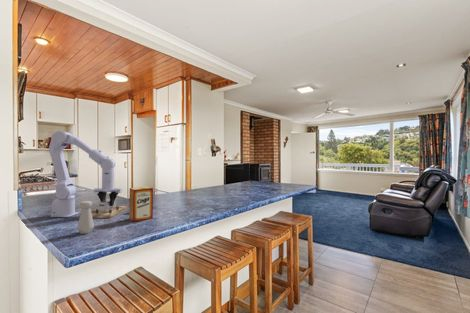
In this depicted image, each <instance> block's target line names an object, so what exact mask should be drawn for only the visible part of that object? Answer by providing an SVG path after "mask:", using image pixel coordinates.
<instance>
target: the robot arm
mask: <svg viewBox="0 0 470 313" xmlns="http://www.w3.org/2000/svg"><path fill="white" fill-rule="evenodd" d="M69 145H75V146H76V147H77V148H79V149H81V150H82V151H84V152H85V153H87V154H88V157H89V158H90V159H91V160H92V161H93V162H95V163H96V164H97V165H99V166H100V168H101V187H99V188H97V187H95V188H93V193H97V194H96V195H97V197H98V198H99V200H100V201H99V202H101V201H104V200H106V199H107V194H108V196H109V199H110V206H113V205H114V201H115V202H116V198H117V196H118V195H119V194H120V193H122V192H123V189H122V188H115V167H116V161H115V160H114V159H113V158H110V157H109V156H108V155H106V154H104V153H103V152H102V150H101V149H94V148H92V147H91V146H90V145H89V144H87V143H86V142H84V141H83V140H82V139H81V138H80V137H78V136H77V135H74V134H73V133H72V132H69V131H67V132H66V131H64V130H56V131H55V132H54V133H53V134H51V135H50V142H49V146H48V151H49V156H50V158H51V162H52V166H53V170H54V173H55V174H54V175H55V177H56V180H57V183H56V184H55V197H56V198H54V199H53V200H52V202H51V215H50V217H51V218H69V217H72V216H76V215H78V214H79V213H80V212H79V211H78V212H77V211H76V194H77V193H78V188H77V186H76V185H75V184H74V181H73V180H72V179H71V178H70V174H69V170H68V167H67V163H66V159H65V155H64V149H65V148H66V147H68V146H69Z"/></svg>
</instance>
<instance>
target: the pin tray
mask: <svg viewBox="0 0 470 313" xmlns="http://www.w3.org/2000/svg"><path fill="white" fill-rule="evenodd" d="M126 211H128V206H127V205H126V206H123V205H122V206H121V205H119V206H118V205H115V208H114V209H110V210H109V211H107V212H98V208H96V209H93V210H91V213H92V218H95V219H111V218H113V217H114V218H115V216H118V215H120V214H122V213H124V212H126Z"/></svg>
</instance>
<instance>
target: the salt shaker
mask: <svg viewBox="0 0 470 313" xmlns="http://www.w3.org/2000/svg"><path fill="white" fill-rule="evenodd" d="M92 207H93V201H90V200H84V201H81V202H80V203H79V208H81V210H80V212H79V213H80V214H79V220H78V224H77V231H78V233H79V234H80V235H86V234H87V235H88V234H90V233H92V232H93V230H94V229H95V228H94V227H95V224H94V223H95V222H94V219H93V218H92V213H91V211H92V209H91V208H92Z"/></svg>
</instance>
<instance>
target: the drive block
mask: <svg viewBox="0 0 470 313" xmlns="http://www.w3.org/2000/svg"><path fill="white" fill-rule="evenodd" d="M97 203H98V204H97V205H98V206H97V207H98V208H97V209H98V212H107V211H109V210H110V209H114V208H115V206H116V200H115V201H114V205H113V206H110V198H106V200H104V201H98V202H97Z"/></svg>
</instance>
